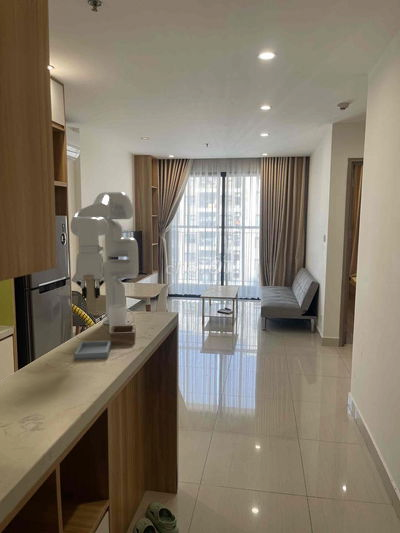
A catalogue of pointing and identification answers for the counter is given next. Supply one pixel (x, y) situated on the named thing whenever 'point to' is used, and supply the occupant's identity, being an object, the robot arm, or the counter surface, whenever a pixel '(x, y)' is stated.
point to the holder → (123, 335)
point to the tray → (93, 350)
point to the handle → (90, 294)
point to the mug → (118, 316)
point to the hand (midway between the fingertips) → (91, 297)
